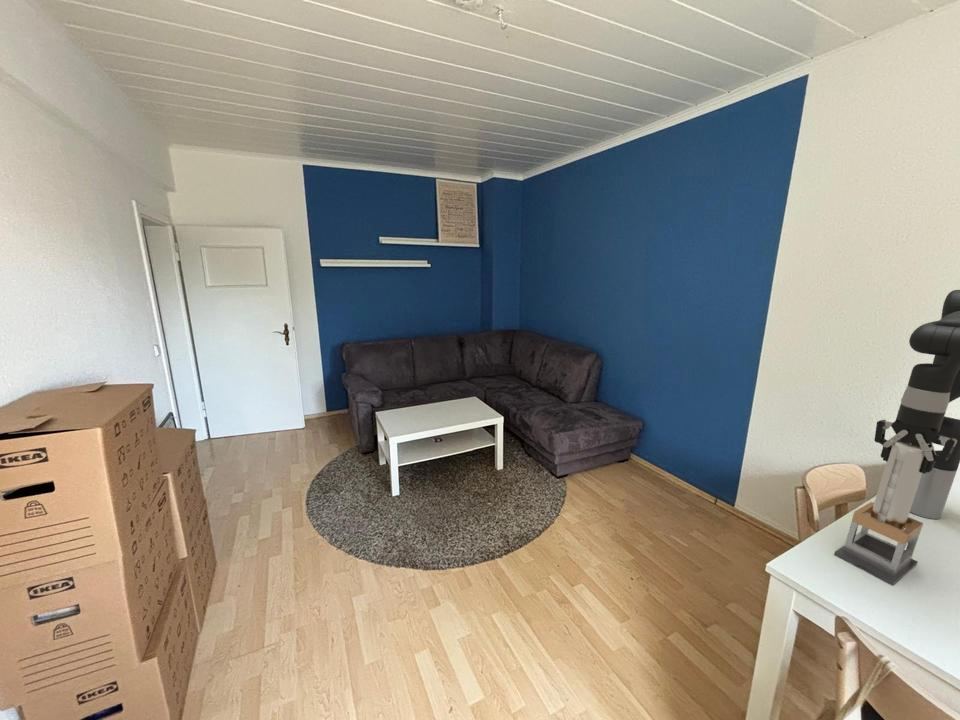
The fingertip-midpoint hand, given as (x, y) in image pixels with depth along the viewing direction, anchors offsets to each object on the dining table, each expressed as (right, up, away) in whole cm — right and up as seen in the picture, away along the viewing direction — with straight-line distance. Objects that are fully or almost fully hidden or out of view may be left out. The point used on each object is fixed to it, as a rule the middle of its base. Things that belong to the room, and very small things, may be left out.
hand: (904, 466), depth 100 cm
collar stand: (-1, -28, +7) cm, 29 cm away
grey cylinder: (0, -18, +5) cm, 19 cm away
